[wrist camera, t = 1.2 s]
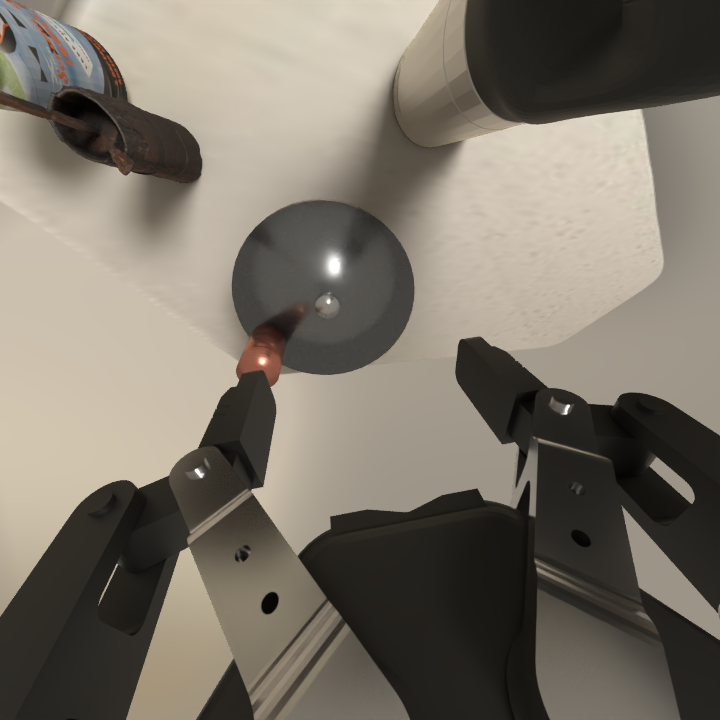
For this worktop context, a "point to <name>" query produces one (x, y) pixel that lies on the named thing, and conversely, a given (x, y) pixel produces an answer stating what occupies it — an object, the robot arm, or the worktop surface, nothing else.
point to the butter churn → (117, 133)
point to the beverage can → (50, 58)
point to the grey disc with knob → (320, 290)
